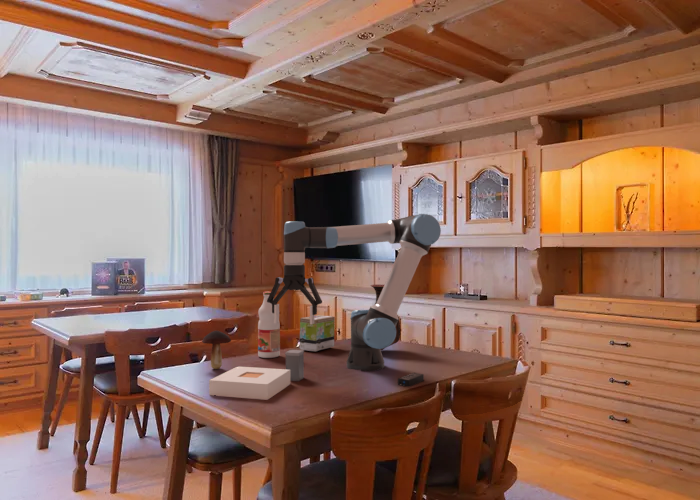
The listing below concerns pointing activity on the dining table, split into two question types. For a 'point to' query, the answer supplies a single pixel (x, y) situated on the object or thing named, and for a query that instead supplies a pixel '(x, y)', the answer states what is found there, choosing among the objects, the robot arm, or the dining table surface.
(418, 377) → the multiport hub
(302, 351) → the plug
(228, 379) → the socket
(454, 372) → the dining table surface
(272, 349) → the fruit juice
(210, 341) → the decorative mushroom
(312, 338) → the tea box
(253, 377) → the shutter
